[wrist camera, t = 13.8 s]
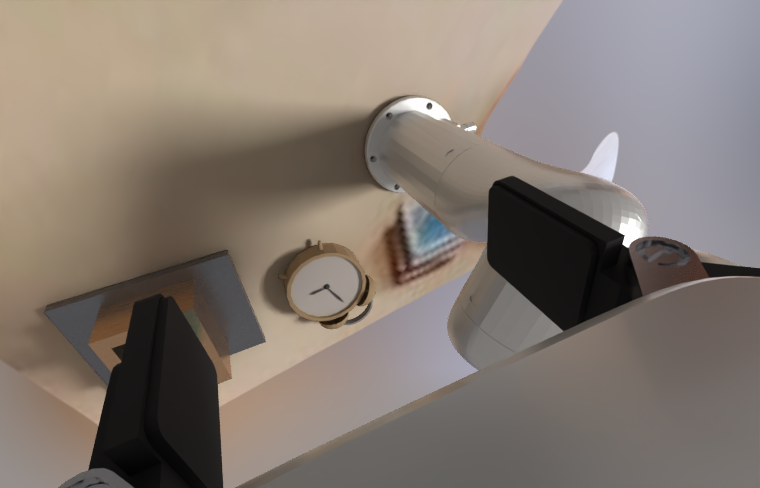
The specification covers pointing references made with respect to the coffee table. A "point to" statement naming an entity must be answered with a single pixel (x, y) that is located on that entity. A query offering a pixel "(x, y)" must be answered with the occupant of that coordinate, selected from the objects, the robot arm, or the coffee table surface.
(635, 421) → the robot arm
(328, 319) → the alarm clock
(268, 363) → the coffee table surface
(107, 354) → the wooden box on base
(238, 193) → the coffee table surface
